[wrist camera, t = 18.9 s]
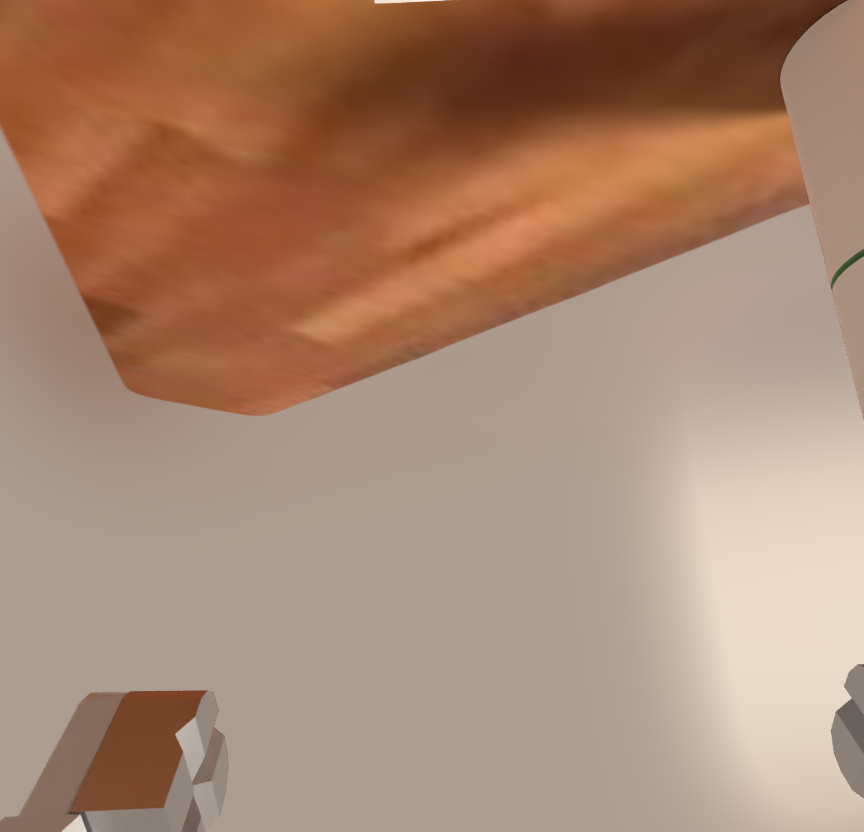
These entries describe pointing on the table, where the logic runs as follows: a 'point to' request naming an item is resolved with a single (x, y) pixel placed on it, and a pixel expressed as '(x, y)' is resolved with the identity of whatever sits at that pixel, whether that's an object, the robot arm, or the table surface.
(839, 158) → the cylindrical container
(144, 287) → the table surface
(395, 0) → the block
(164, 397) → the table surface
